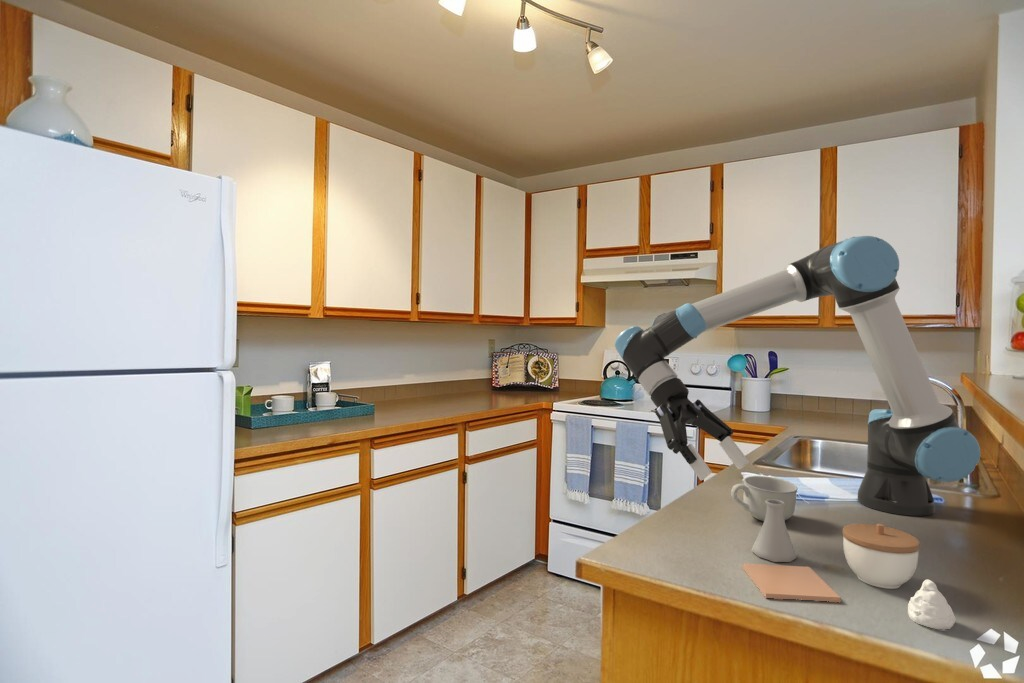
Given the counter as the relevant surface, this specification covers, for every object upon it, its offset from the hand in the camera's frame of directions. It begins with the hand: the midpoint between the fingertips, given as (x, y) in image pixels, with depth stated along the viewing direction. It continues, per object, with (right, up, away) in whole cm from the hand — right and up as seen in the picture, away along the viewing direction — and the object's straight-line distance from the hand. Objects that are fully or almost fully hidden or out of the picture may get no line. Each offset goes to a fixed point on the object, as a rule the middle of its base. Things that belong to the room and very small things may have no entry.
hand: (726, 471), depth 111 cm
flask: (+6, -14, -7) cm, 17 cm away
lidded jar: (+19, -14, -17) cm, 29 cm away
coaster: (+3, -14, -19) cm, 24 cm away
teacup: (+13, -14, +14) cm, 23 cm away
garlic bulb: (+18, -15, -30) cm, 38 cm away
